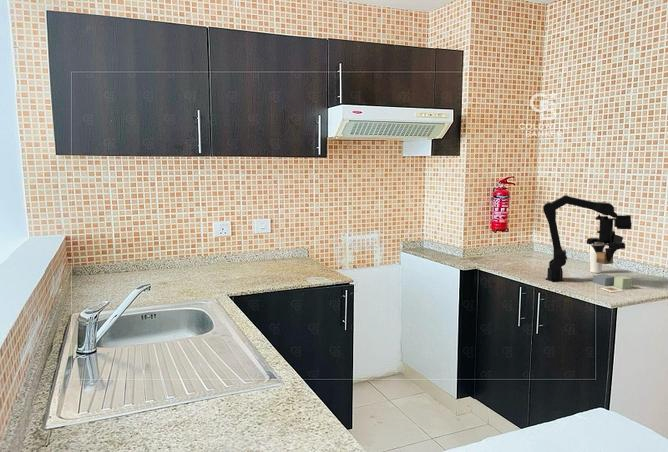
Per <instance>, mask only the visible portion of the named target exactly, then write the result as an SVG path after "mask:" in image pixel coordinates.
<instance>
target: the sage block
mask: <svg viewBox="0 0 668 452" xmlns="http://www.w3.org/2000/svg"><path fill="white" fill-rule="evenodd" d="M632 282H633V281H632V278H631V277H628V276H625V275H621V276H620V275H617V276H615V277H614V285H613V287H614V288H617V289H620V290H629V288H631V289H632Z"/></svg>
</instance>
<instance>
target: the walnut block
mask: <svg viewBox="0 0 668 452" xmlns="http://www.w3.org/2000/svg"><path fill="white" fill-rule="evenodd" d="M596 262H597V263H601V264H602V265H609V264H610V265H611V264H613V265H614V256H613V257H612V259H611V261H610V262H608V261H607V256H606V251H604V252H597V260H596Z"/></svg>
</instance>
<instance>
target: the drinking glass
mask: <svg viewBox="0 0 668 452" xmlns="http://www.w3.org/2000/svg"><path fill="white" fill-rule="evenodd" d="M591 245H593V243H592V244H589V266H590V269H589V271H590V273H593V274H600V273H601V274H602V269H603V264H601V263H597V262H596V260H597V254H596V252H595V250H594V248H593V247H592V246H591ZM603 252H605V247H604V248H603Z"/></svg>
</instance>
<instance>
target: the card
mask: <svg viewBox="0 0 668 452" xmlns="http://www.w3.org/2000/svg"><path fill="white" fill-rule="evenodd" d="M599 290H603V291H605V290H606V292H608V291H609V293H619V292H625V289H619V288H616V287H614V286H605V287H599Z"/></svg>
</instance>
